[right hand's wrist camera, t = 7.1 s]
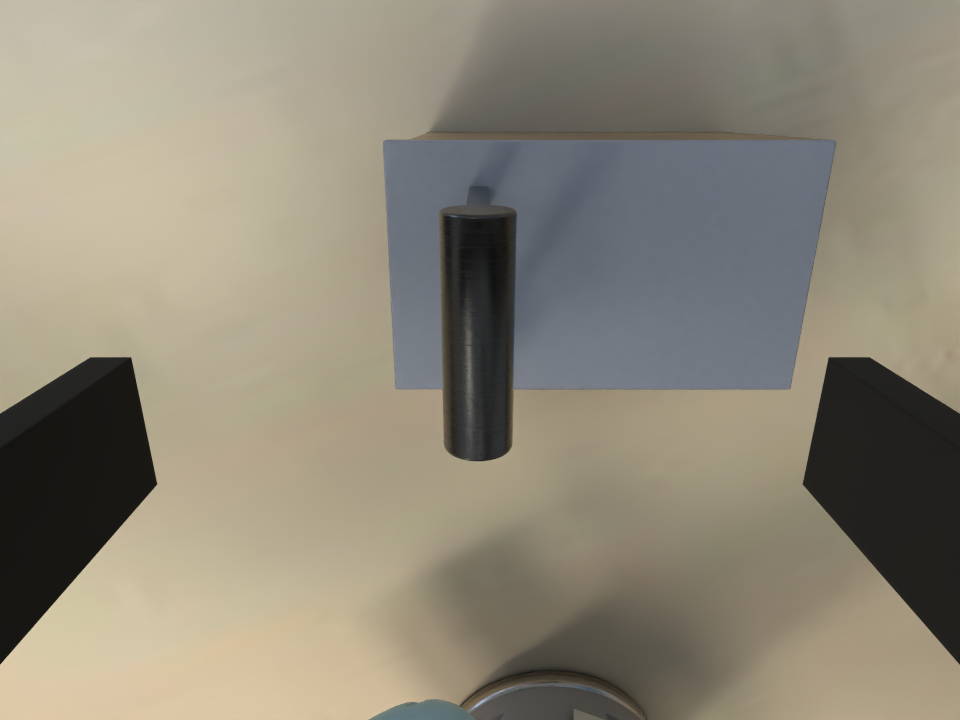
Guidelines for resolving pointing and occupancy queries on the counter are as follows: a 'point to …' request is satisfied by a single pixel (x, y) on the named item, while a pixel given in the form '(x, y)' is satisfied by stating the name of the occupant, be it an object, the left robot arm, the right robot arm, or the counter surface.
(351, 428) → the counter surface
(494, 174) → the lid
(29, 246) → the counter surface
